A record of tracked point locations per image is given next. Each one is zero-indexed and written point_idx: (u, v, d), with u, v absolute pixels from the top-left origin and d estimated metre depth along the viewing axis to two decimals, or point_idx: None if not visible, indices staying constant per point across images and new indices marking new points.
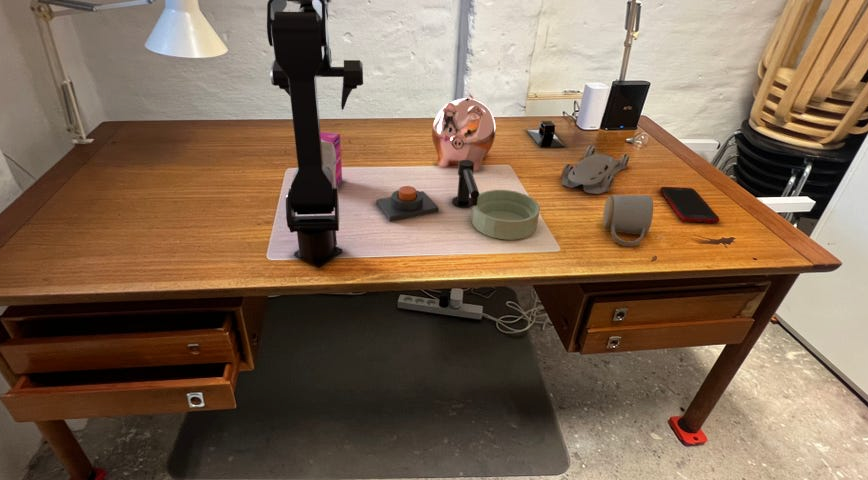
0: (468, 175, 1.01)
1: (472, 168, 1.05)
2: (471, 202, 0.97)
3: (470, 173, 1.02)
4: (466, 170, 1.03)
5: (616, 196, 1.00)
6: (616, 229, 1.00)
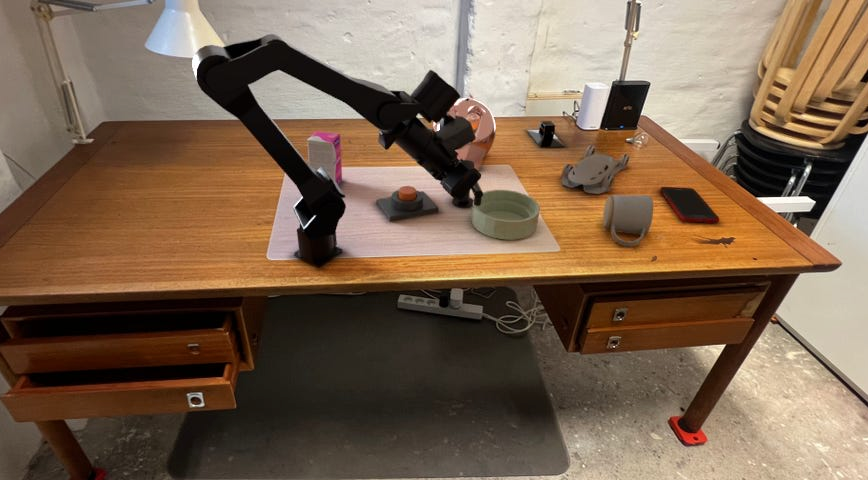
0: None
1: None
2: (475, 202, 0.97)
3: None
4: None
5: (616, 196, 1.00)
6: (616, 229, 1.00)
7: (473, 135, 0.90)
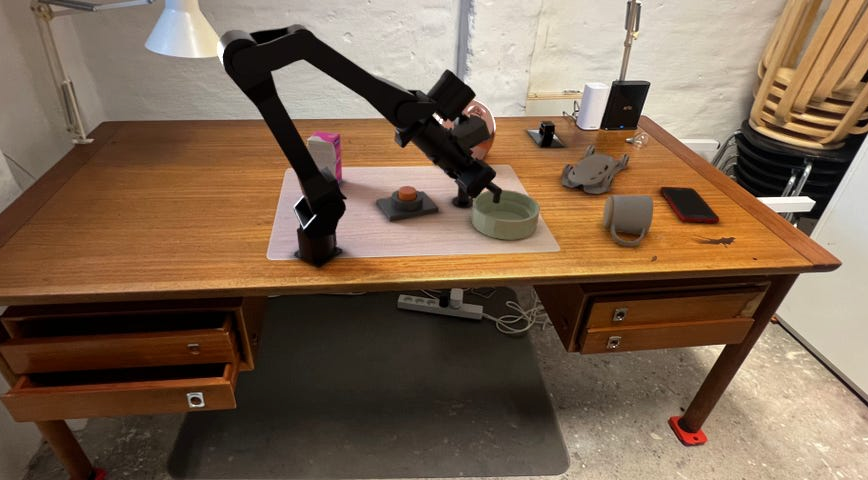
0: None
1: None
2: (495, 200, 0.98)
3: None
4: None
5: (616, 196, 1.00)
6: (616, 229, 1.00)
7: (488, 134, 0.91)
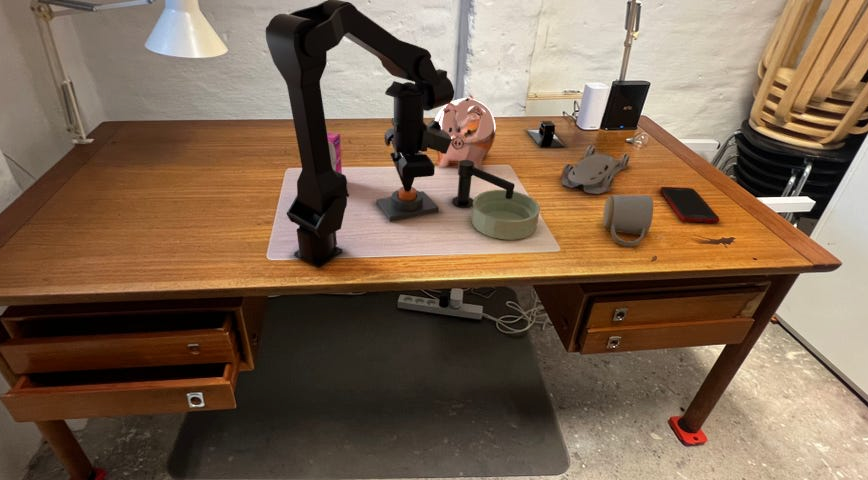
0: (484, 173, 1.02)
1: None
2: (509, 196, 1.00)
3: None
4: (475, 169, 1.04)
5: (616, 196, 1.00)
6: (616, 229, 1.00)
7: (446, 149, 1.00)
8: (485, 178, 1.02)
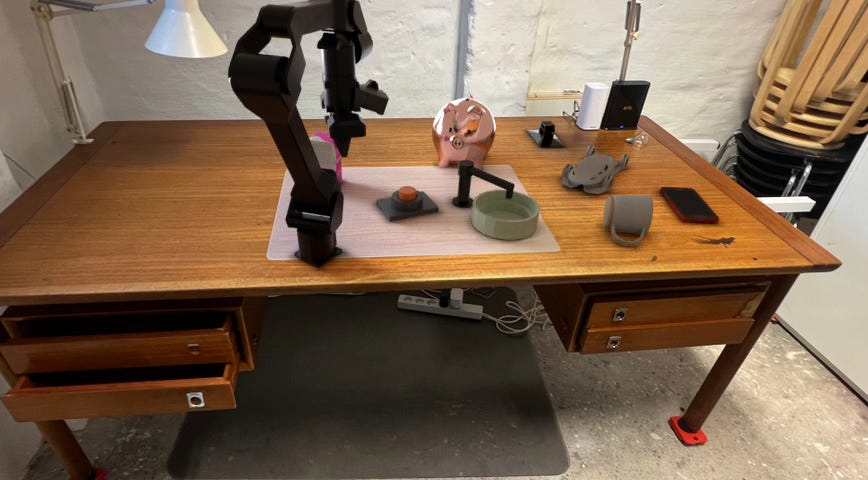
0: (484, 173, 1.02)
1: None
2: (509, 196, 1.00)
3: None
4: (475, 169, 1.04)
5: (616, 196, 1.00)
6: (616, 229, 1.00)
7: (383, 110, 0.92)
8: (485, 178, 1.02)
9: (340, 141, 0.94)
